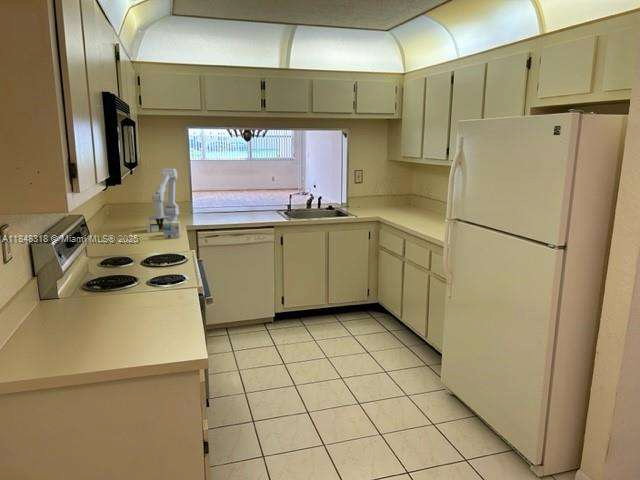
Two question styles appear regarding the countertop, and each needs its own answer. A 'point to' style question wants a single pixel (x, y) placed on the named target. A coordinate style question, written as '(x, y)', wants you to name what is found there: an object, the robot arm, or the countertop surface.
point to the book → (154, 229)
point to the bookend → (148, 226)
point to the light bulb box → (171, 229)
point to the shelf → (158, 226)
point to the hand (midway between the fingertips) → (160, 229)
